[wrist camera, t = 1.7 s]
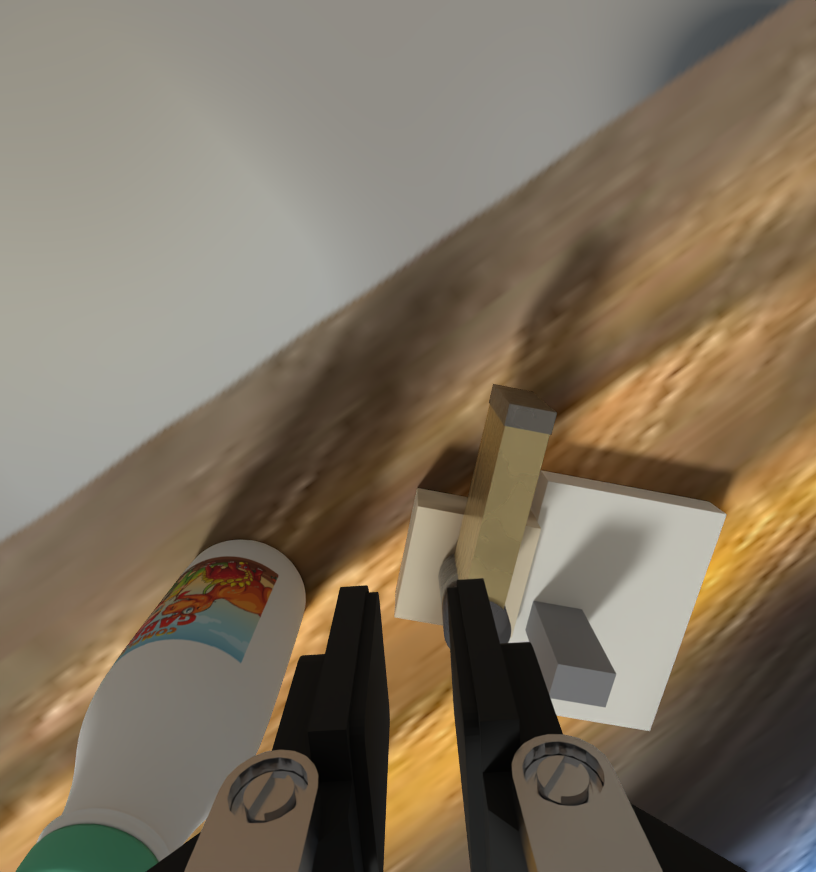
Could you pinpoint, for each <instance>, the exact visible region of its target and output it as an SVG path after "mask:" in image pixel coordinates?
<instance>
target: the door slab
mask: <svg viewBox="0 0 816 872" xmlns="http://www.w3.org/2000/svg"><path fill="white" fill-rule="evenodd" d="M530 509H531V511H532V513H533V514H534V516H535V518H536V520H537V522H538V524H539V526H540V528H541V531H540V535H539V539H538V542H537V546H536V550H535V554H534V557H533V561H532V565H531V568H530V572H529V576H528V579H527V583H526V587H525V590H524V594H523V598H522V601H521V605H520V609H519V613H518V616H517V620H516V624H515V627H514V631H513V635H512V637H510V640H509V642H508V643H517V642H530V643H531V644H532V646H533V648H534V651H535V654H536V657H537V660H538V663H539V666H540V669H541V672H542V675H543V678H544V680H545V683H546V686H547V689H548V692H549V695H550V698H551V701H552V704H553V707H554V710H555V713H556V715H557V716H563V717H569V718H575V719H581V720H587V721H593V722H599V723H605V724H611V725H617V726H623V727H629V728H635V729H641V730H647V731H650V729H651V726H652V723H653V721H654V718H655V715H656V712H657V709H658V706H659V704H660V701H661V698H662V695H663V692H664V690H665V687H666V684H667V681H668V678H669V676H670V673H671V670H672V667H673V664H674V661H675V659H676V656H677V653H678V650H679V647H680V645H681V642H682V639H683V636H684V633H685V630H686V628H687V625H688V622H689V619H690V616H691V614H692V611H693V608H694V605H695V602H696V599H697V597H698V594H699V591H700V588H701V585H702V583H703V580H704V577H705V574H706V571H707V568H708V566H709V563H710V560H711V557H712V554H713V552H714V549H715V546H716V543H717V540H718V537H719V535H720V532H721V529H722V526H723V523H724V521H725V518H726V515H727V514H725V513H724V512H723V511H721V510H720V509H719V508H717V507H716V506H714V505H713V504H712V503H710V502H708V501H702V500H697V499H692V498H686V497H681V496H676V495H670V494H665V493H660V492H654V491H649V490H644V489H638V488H633V487H628V486H622V485H617V484H612V483H606V482H601V481H596V480H590V479H585V478H580V477H574V476H569V475H564V474H558V473H553V472H548V471H542V470H540V474H539V478H538V482H537V486H536V489H535V493H534V497H533V501H532V505H531V508H530Z"/></svg>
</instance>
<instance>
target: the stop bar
mask: <svg viewBox="0 0 816 872" xmlns="http://www.w3.org/2000/svg"><path fill="white" fill-rule="evenodd" d="M489 404H490V405H489V409H488V413H487V417H486V422H485V426H484V430H483V435H482V439H481V443H480V447H479V452H478V456H477V460H476V465H475V469H474V473H473V477H472V482H471V486H470V490H469V495H468V499H467V503H466V507H465V512H464V516H463V520H462V525H461V529H460V533H459V537H458V542H457V546H456V550H455V553H454V554H452V555H451V556H449V557H448V558H447V559H446V560H445V561H444V562H443V564H442V565H441V567H440V570H439V575H438V579H439V589H440V599H441V609H442V619H443V629H444V637H445V641H446V643H447V645H448V647H449V648H450V636H449V619H448V603H447V588H450V587H457V580H462V579H478V578H484V582H485V586H486V590H487V594H488V598H489V601H490V605H491V609H492V613H493V617H494V621H495V625H496V629H497V633H498V637H499V641H500V644H501V643H508V642H509V640H510V637H511V624H510V620H509V617H508V614H507V610H506V607H505V602H506V599H507V595H508V591H509V587H510V583H511V580H512V576H513V572H514V568H515V564H516V561H517V557H518V553H519V549H520V545H521V542H522V538H523V534H524V530H525V527H526V523H527V519H528V515H529V511H530V508H531V504H532V500H533V496H534V492H535V489H536V485H537V481H538V477H539V473H540V470H541V466H542V462H543V458H544V454H545V451H546V447H547V443H548V439H549V435H551V434H552V430H553V426H554V422H555V418H556V415H557V412H556V411H554V410H553V409H552V408H551V407H550V406H549V405H548V404H546V403H545V402H544V401H543V400H542V399H541V398H540V397H538V396H537V395H536V394H535V393H534V392H532V391H527V390H522V389H517V388H512V387H507V386H501V385H496V384H493V387H492V391H491V395H490V400H489Z"/></svg>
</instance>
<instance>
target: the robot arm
mask: <svg viewBox="0 0 816 872" xmlns="http://www.w3.org/2000/svg"><path fill="white" fill-rule="evenodd" d="M447 603H448V619H449V636H450V653H451V670H452V686H453V703H454V716H455V726H456V735H457V745H458V755H459V764H460V774H461V783H462V793H463V802H464V812H465V821H466V831H467V840H468V850H469V859H470V869H471V872H747V871H745V870H743V869H742V868H740V867H738V866H737V865H735V864H733V863H731V862H730V861H728V860H726V859H725V858H723V857H721V856H719V855H718V854H716V853H714V852H713V851H711V850H709V849H708V848H706V847H704V846H702V845H701V844H699V843H697V842H696V841H694V840H692V839H690V838H689V837H687V836H685V835H684V834H682V833H680V832H679V831H677V830H675V829H673V828H672V827H670V826H668V825H667V824H665V823H663V822H661V821H660V820H658V819H656V818H655V817H653V816H651V815H650V814H648V813H646V812H644V811H643V810H641V809H639V808H638V807H636V806H634V805H632V804H631V803H630V802H629V800H628V798H627V796H626V793H625V791H624V789H623V787H622V785H621V783H620V781H619V779H618V777H617V775H616V773H615V770H614V768H613V766H612V765H611V764H610V762H609V761H608V759H607V758H606V756H605V755H604V754H603V753H602V752H600V751H599V750H598V749H597V748H596V747H594V746H593V745H591V744H589V743H587V742H585V741H583V740H581V739H579V738H576V737H572V736H568V735H564V734H563V733H562V730H561V727H560V724H559V722H558V719H557V716H556V713H555V710H554V707H553V704H552V701H551V698H550V695H549V692H548V689H547V686H546V683H545V680H544V678H543V675H542V672H541V669H540V666H539V663H538V660H537V657H536V654H535V651H534V648H533V646H532V644H531V643H530V642H517V643H501V644H500V641H499V637H498V633H497V629H496V625H495V621H494V617H493V613H492V609H491V605H490V601H489V598H488V594H487V590H486V586H485V582H484V578H478V579H462V580H457V587H450V588H447ZM389 727H390V714H389V699H388V688H387V677H386V666H385V656H384V645H383V634H382V623H381V612H380V601H379V593H378V592H370V593H369V589H368V586H351V587H340V590H339V595H338V599H337V604H336V608H335V612H334V617H333V621H332V626H331V630H330V635H329V639H328V643H327V648H326V652H325V654H320V655H303V656H301V657H300V658H299V661H298V663H297V667H296V670H295V674H294V677H293V680H292V684H291V687H290V691H289V694H288V698H287V701H286V704H285V708H284V711H283V715H282V718H281V721H280V725H279V728H278V732H277V735H276V738H275V742H274V745H273V749H272V751H267V752H264V753H261V754H259V755H256V756H253V757H251V758H249V759H248V760H246V761H245V762H243V763H242V764H240V765H238V766H237V767H236V768H235V769H234V770H233V771H232V772H231V773H230V774H229V775H228V776H227V777H226V779H225V781H224V782H223V784H222V786H221V787H220V789H219V791H218V793H217V796H216V798H215V801H214V803H213V805H212V808H211V810H210V812H209V815H208V817H207V819H206V822H205V824H204V826H203V829H202V831H201V832H200V833H199V834H197V835H196V836H194V837H193V838H192V839H190V840H189V841H188V842H186V843H185V844H183V845H182V846H181V847H179V848H178V849H176V850H175V851H174V852H172V853H171V854H169V855H168V856H167V857H165V858H164V859H163V860H161V861H160V862H158V863H157V864H156V865H154V866H153V867H151V868H150V869H149V870H147V871H146V872H383V865H384V842H385V819H386V796H387V773H388V750H389Z"/></svg>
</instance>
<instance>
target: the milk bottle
mask: <svg viewBox="0 0 816 872" xmlns="http://www.w3.org/2000/svg"><path fill="white" fill-rule="evenodd" d="M305 604H306V594H305V588H304V584H303V581H302V578H301V576H300V574H299V572H298V571H297V569H296V568H295V566H294V565H293V563H292V562H291V561H290V560H289V559H288V558H287V557H286V556H285V555H284V554H282V553H281V552H279V551H278V550H277V549H275V548H273V547H271V546H269V545H267V544H265V543H261V542H257V541H253V540H242V539H240V540H230V541H225V542H221V543H218V544H215V545H213V546H211V547H209V548H207V549H206V550H204V551H203V552H202V553H200V554H199V555H198V556H197V557H196V558H195V559H194V560H193V562H192V563H191V564H190V565H189V566H188V567H187V569H186V570H185V571H184V572H183V574H182V575H181V576H180V577H179V579H178V580H177V581H176V583H175V584H174V585H173V586H172V588H171V589H170V590H169V592H168V593H167V594H166V595H165V597H164V598H163V599H162V601H161V602H160V603H159V604H158V606H157V607H156V608H155V610H154V611H153V612H152V613H151V615H150V616H149V617H148V619H147V620H146V621H145V623H144V624H143V625H142V627H141V628H140V629H139V631H138V632H137V633H136V635H135V636H134V637H133V639H132V640H131V641H130V643H129V644H128V645H127V646H126V648H125V649H124V650H123V652H122V653H121V655H120V656H119V658H118V659H117V660H116V662H115V663H114V665H113V666H112V668H111V669H110V671H109V672H108V673H107V675H106V676H105V678H104V679H103V681H102V682H101V684H100V686H99V688H98V690H97V691H96V693H95V695H94V697H93V699H92V701H91V703H90V705H89V708H88V710H87V713H86V715H85V718H84V721H83V724H82V728H81V731H80V735H79V740H78V746H77V753H76V762H75V770H74V777H73V782H72V786H71V790H70V794H69V797H68V800H67V803H66V806H65V809H64V811H63V813H62V815H61V816H59V817H57V818H56V819H55V820H53V821H52V822H51V823H50V824H48V825H47V827H46V828H45V829H44V830H43V831H42V833H41V834H40V836H39V838H38V841H37V844H35V845H34V847H33V848H32V849H31V850H30V851H29V853H28V854H27V856H26V857H25V858H24V860H23V861H22V863H21V864H20V865H19V867H18V868H17V870H16V872H146V871H147V870H149V869H150V868H151V867H153V866H154V865H156V864H157V863H158V862H160V861H161V860H163V859H164V858H165V857H167V856H168V855H169V854H171V853H172V852H174V851H175V850H176V849H178V848H179V847H181V846H182V845H183V844H184V842H185V841H186V840H187V839H188V837H189V836H190V835H191V834H192V833H193V831H194V830H195V829H196V828H197V827H198V826H199V825H200V824H201V823H203V822H204V821H205V820H206V819H207V817H208V815H209V812H210V810H211V808H212V805H213V803H214V801H215V798H216V796H217V793H218V791H219V789H220V787H221V786H222V784H223V782H224V781H225V779H226V777H227V776H228V775H229V774H230V773H231V772H232V771H233V770H234V769H235V768H236V767H237V766H238V765H240V764H242V763H243V762H245V761H246V760H248V759H249V758H251V757H253V756H255V755H256V753H257V751H258V749H259V747H260V744H261V742H262V739H263V736H264V734H265V731H266V728H267V726H268V723H269V720H270V717H271V714H272V711H273V708H274V705H275V702H276V699H277V696H278V693H279V690H280V687H281V684H282V681H283V678H284V675H285V672H286V669H287V666H288V663H289V660H290V656H291V653H292V650H293V647H294V644H295V641H296V638H297V634H298V631H299V628H300V625H301V622H302V618H303V614H304V610H305Z"/></svg>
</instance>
